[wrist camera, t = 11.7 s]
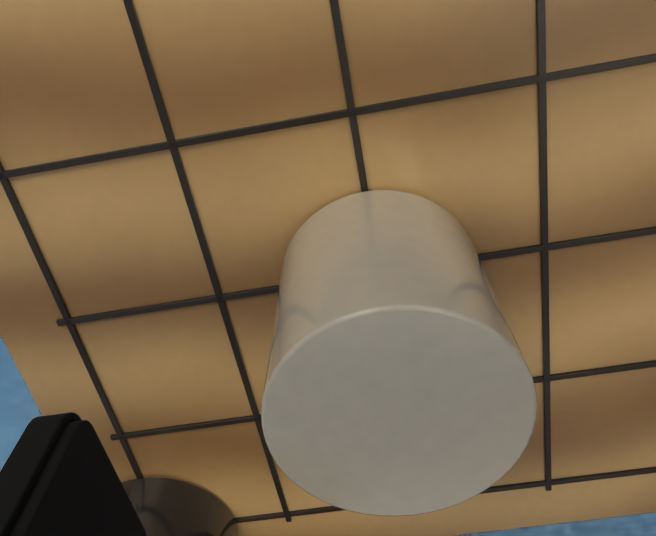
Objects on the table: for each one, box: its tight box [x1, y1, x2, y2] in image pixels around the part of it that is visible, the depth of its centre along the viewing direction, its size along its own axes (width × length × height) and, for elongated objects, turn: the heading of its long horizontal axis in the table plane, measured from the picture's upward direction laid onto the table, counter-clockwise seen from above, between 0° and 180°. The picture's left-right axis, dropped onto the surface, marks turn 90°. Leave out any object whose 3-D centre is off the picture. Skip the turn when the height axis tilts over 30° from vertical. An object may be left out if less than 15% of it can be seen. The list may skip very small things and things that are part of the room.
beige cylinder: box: [261, 190, 537, 516], centre depth 13 cm, size 5×5×5 cm
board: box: [0, 0, 656, 536], centre depth 16 cm, size 20×20×2 cm
